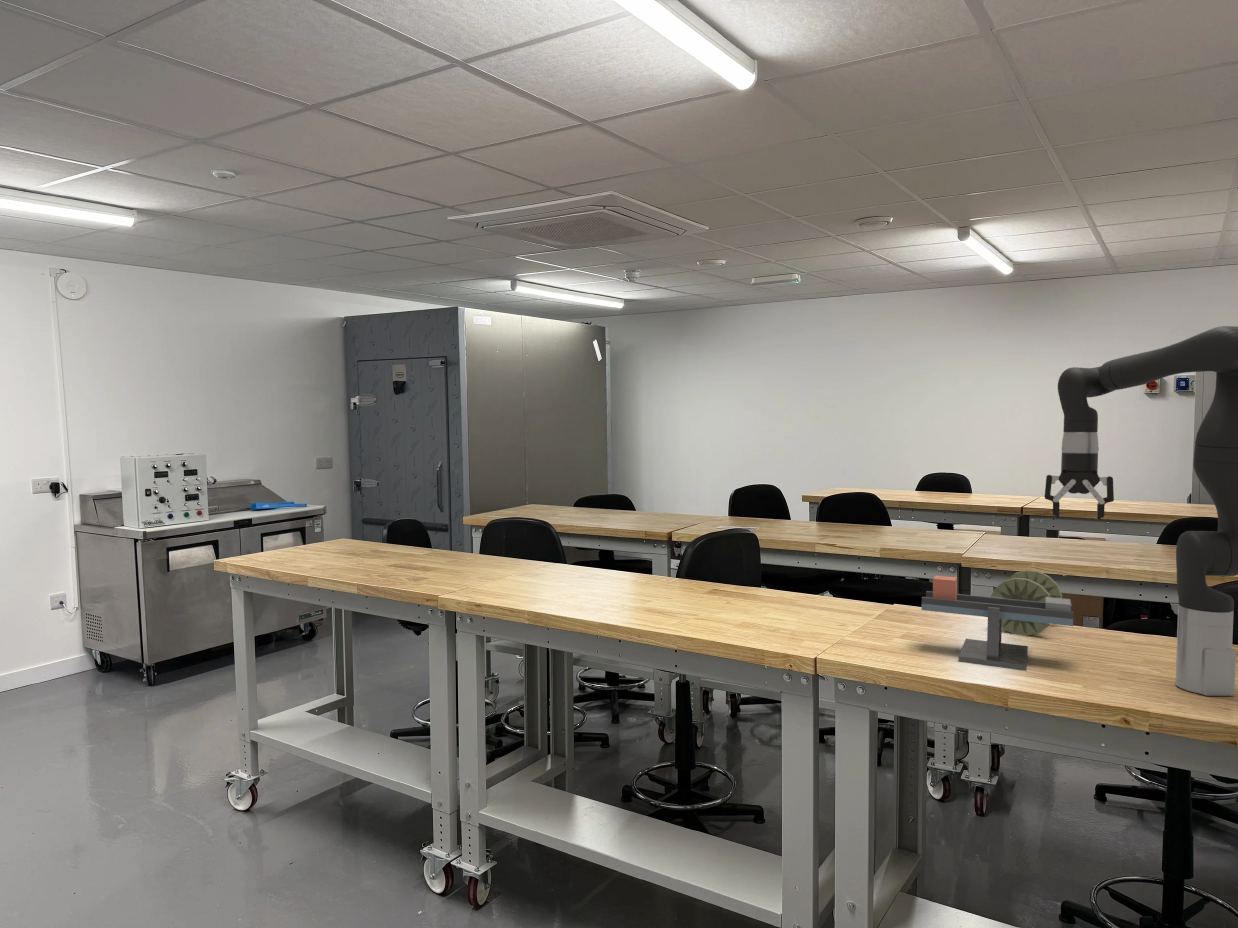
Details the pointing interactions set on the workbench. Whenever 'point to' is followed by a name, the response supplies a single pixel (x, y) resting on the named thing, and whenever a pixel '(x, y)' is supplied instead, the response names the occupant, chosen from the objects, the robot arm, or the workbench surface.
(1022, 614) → the balance beam
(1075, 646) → the workbench surface
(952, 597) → the block
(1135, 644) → the workbench surface
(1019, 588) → the spool
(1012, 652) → the pivot stand
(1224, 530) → the robot arm
